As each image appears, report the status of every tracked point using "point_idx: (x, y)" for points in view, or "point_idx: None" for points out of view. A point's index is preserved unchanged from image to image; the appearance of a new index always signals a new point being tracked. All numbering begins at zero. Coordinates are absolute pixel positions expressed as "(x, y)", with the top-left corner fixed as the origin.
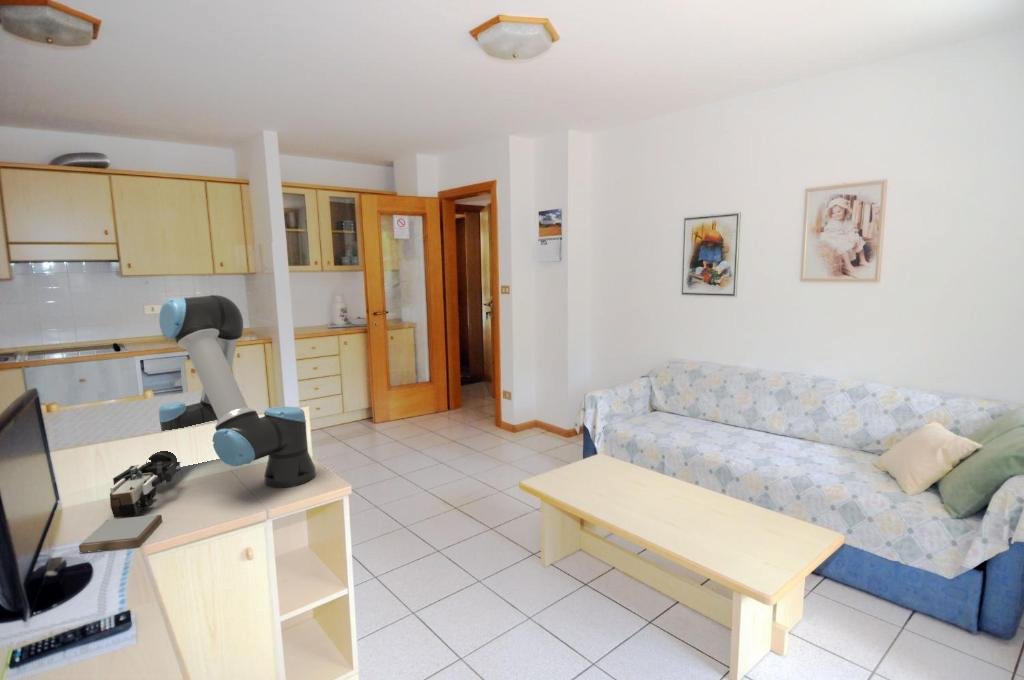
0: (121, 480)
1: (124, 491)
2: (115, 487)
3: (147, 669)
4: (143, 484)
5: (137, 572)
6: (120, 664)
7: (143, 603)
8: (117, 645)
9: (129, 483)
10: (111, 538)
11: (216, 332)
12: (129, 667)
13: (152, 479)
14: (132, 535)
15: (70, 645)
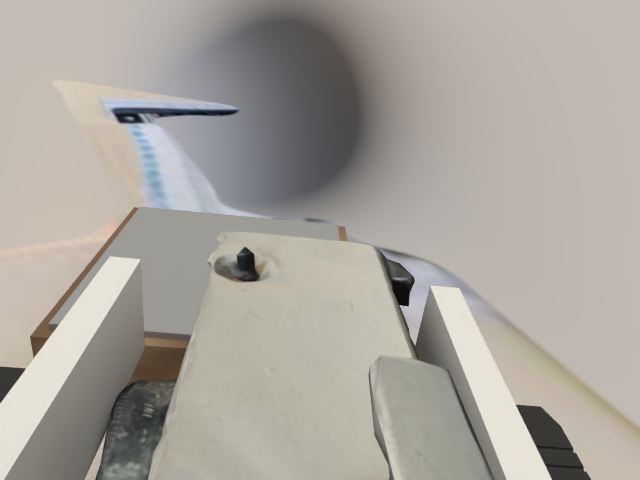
0: (515, 452)
1: (285, 245)
2: (437, 323)
3: (84, 83)
4: (134, 269)
5: (121, 169)
6: (117, 90)
7: (97, 125)
8: (126, 100)
9: (340, 386)
10: (238, 221)
11: None
12: (105, 87)
13: (26, 378)
14: (160, 218)
15: (192, 111)
